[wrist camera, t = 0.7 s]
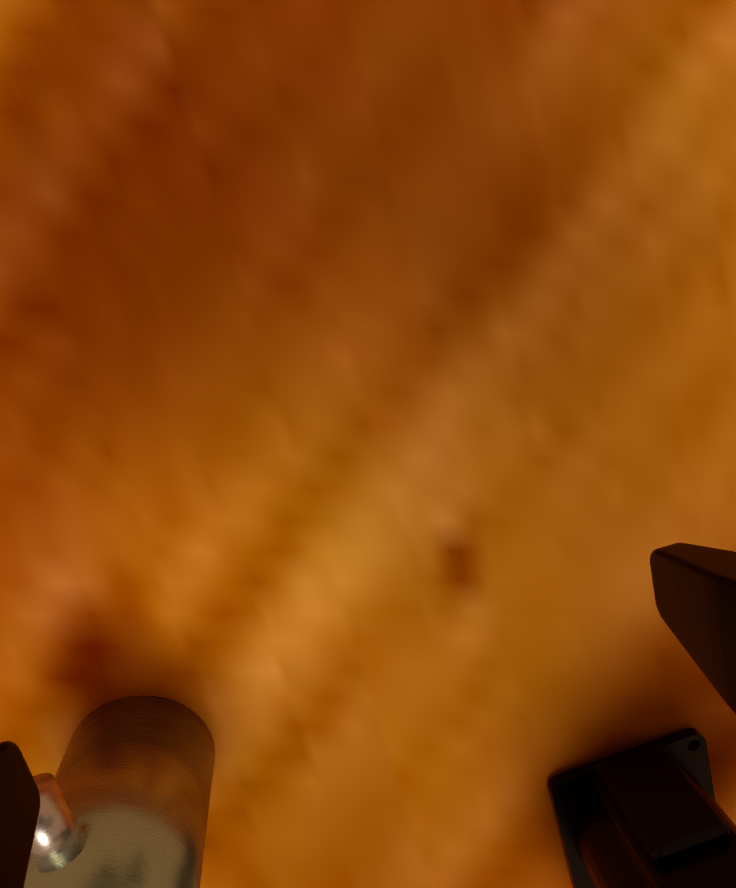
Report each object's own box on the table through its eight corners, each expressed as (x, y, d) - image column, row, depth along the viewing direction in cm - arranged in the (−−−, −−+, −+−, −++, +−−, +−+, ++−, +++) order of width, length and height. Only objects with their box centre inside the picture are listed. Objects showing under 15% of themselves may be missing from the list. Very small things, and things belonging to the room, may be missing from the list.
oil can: (234, 787, 24) (218, 1010, 17) (100, 834, 23) (26, 1081, 16) (165, 630, 22) (114, 806, 15) (19, 678, 21) (-107, 883, 14)
